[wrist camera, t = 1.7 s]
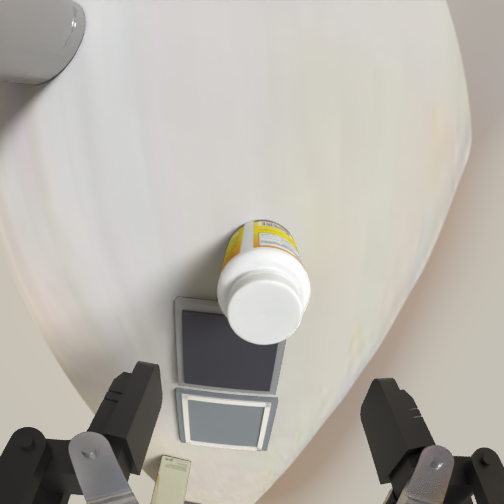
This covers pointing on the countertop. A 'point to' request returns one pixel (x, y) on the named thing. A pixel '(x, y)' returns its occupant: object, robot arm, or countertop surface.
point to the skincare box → (171, 481)
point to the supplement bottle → (263, 283)
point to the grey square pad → (225, 419)
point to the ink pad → (221, 352)
